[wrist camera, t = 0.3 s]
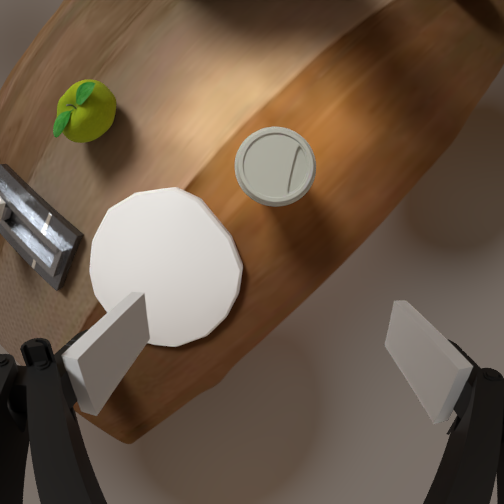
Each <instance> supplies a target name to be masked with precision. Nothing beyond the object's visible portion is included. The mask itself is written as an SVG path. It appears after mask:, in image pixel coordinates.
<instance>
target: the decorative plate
mask: <svg viewBox="0 0 504 504" xmlns="http://www.w3.org/2000/svg"><path fill="white" fill-rule="evenodd" d="M242 270H243V263H242V261H241V258H240V256H239V253H238V250H237V248H236V245H235V242H234V240H233V237H232V235H231V234H230V233H229V232H228V230H227V229H226V228H225V227H224V226H223V224H222V223H221V222H220V221H219V219H218V218H217V217H216V216H215V215H214V213H213V212H212V211H211V210H210V208H209V207H208V206H207V205H206V204H205V202H204V201H203V200H202V199H201V198H199V197H197V196H195V195H193V194H191V193H189V192H186V191H184V190H182V189H180V188H178V187H172V188H164V189H157V190H150V191H144V192H137V193H134V194H133V195H131V196H129V197H128V198H126V199H124V200H123V201H121V202H119V203H118V204H116V205H114V206H113V207H111V208H110V209H108V211H107V213H106V215H105V217H104V219H103V221H102V223H101V224H100V226H99V228H98V230H97V232H96V234H95V236H94V238H93V240H92V248H91V259H90V276H91V281H92V285H93V290H94V294H95V296H96V297H97V299H98V300H99V302H100V303H101V304H102V306H103V307H104V309H105V310H106V311H107V313H108V312H109V311H110V310H111V309H113V308H114V307H115V306H116V305H117V304H118V303H119V302H121V301H122V300H123V299H124V298H125V297H126V296H127V295H129V294H130V293H131V292H140V293H145V302H146V311H147V319H148V327H149V334H150V339H149V341H148V342H147V343H149V344H153V345H162V346H171V347H177V346H180V345H183V344H186V343H189V342H192V341H194V340H197V339H200V338H203V337H205V336H207V335H209V334H210V333H211V332H212V331H213V330H214V329H215V328H216V327H217V326H218V325H219V324H220V323H221V322H222V321H223V320H224V319H225V318H226V317H227V316H228V314H229V312H230V310H231V308H232V306H233V304H234V302H235V300H236V298H237V296H238V294H239V291H240V284H241V277H242Z"/></svg>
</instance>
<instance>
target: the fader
mask: <svg viewBox="0 0 504 504" xmlns="http://www.w3.org/2000/svg"><path fill="white" fill-rule="evenodd" d="M11 211H12V210H11V209H10V208H9V207H8V206H7V204H6V203H5V202H4V200H3V199H2V198H1V197H0V221H1V218H2V219H3V220H5V219H9V218H10V215H11Z"/></svg>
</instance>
